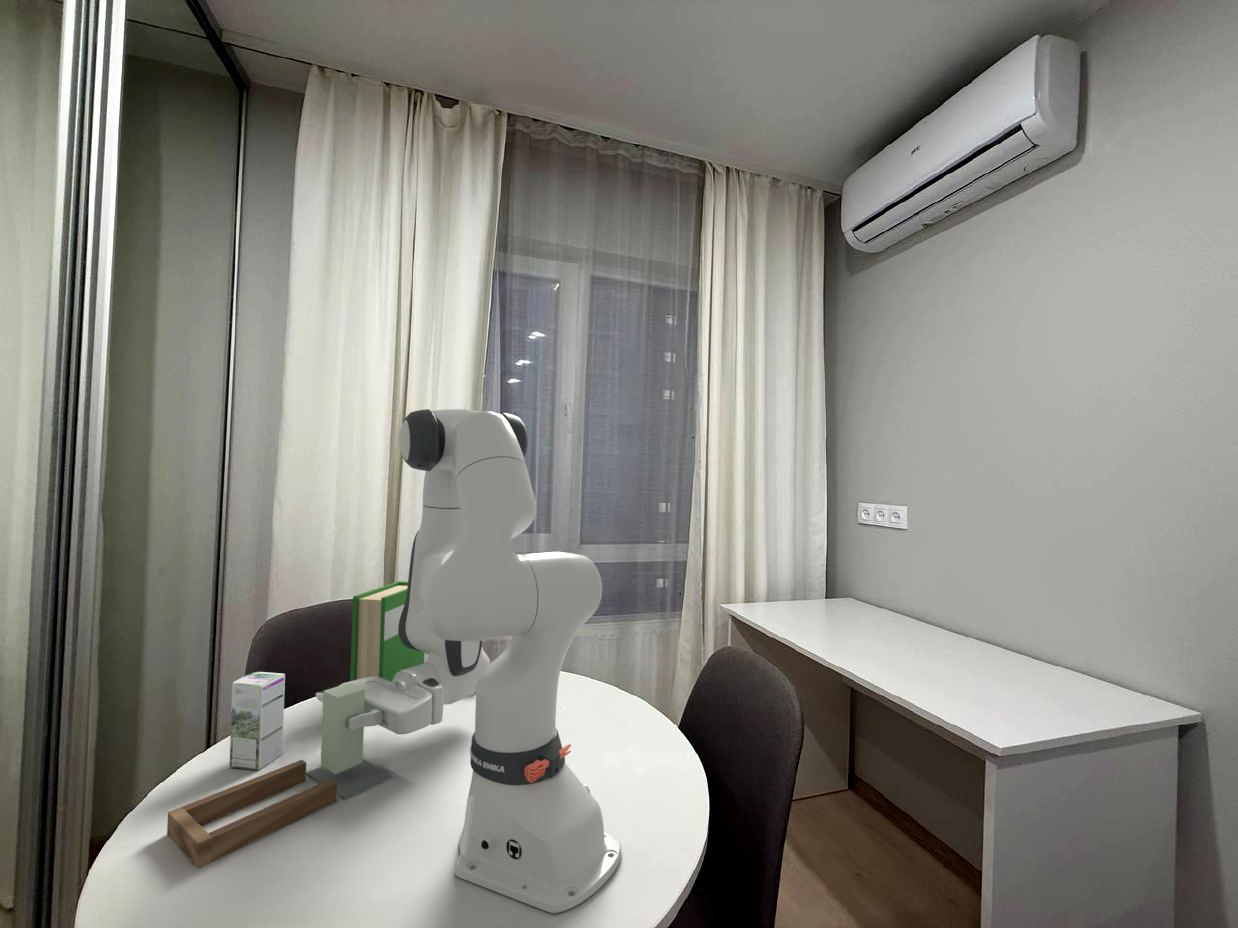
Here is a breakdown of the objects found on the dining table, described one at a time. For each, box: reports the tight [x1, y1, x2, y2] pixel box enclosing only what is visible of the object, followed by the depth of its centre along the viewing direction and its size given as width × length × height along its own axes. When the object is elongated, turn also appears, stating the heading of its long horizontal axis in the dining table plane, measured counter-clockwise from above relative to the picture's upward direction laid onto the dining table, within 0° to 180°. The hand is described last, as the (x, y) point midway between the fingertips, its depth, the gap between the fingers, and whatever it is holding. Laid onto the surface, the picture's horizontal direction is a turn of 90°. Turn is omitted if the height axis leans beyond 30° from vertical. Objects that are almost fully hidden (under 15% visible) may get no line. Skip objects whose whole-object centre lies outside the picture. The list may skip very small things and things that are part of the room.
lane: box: [166, 759, 338, 869], centre depth 78 cm, size 11×18×3 cm, turn 145°
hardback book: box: [349, 581, 425, 682], centre depth 123 cm, size 18×7×24 cm, turn 172°
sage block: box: [320, 683, 365, 774], centre depth 89 cm, size 4×4×12 cm
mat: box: [306, 758, 393, 800], centre depth 90 cm, size 12×8×1 cm, turn 55°
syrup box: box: [229, 671, 286, 771], centre depth 94 cm, size 6×6×14 cm
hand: (338, 719), depth 88 cm, fingers closed on sage block, 4 cm apart
